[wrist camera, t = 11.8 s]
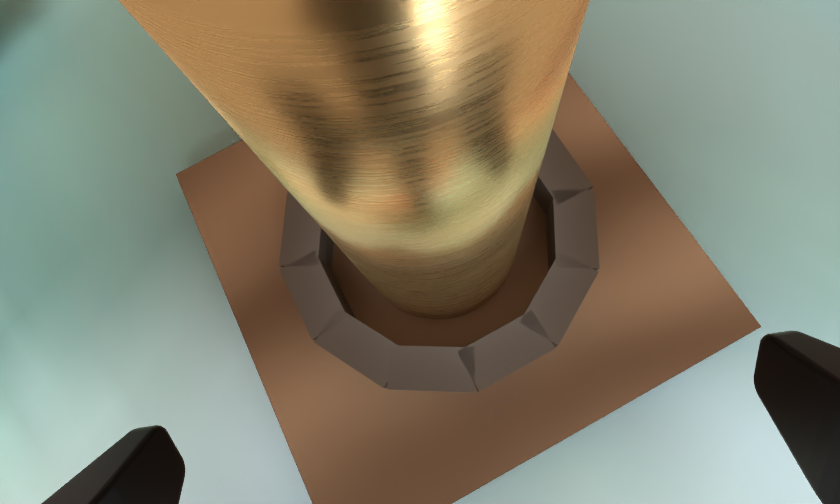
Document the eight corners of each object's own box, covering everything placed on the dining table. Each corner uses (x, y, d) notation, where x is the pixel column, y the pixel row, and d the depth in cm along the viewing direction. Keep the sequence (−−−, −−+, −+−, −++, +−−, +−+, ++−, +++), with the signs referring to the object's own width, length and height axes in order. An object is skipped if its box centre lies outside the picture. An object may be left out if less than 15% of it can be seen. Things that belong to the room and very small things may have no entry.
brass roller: (482, 343, 15) (519, 117, 3) (337, 285, 16) (-84, -69, 4) (537, 201, 16) (731, -399, 4) (398, 154, 18) (215, -443, 5)
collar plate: (746, 330, 16) (791, 319, 13) (346, 559, 15) (324, 587, 13) (510, 14, 20) (515, -35, 17) (187, 183, 19) (150, 155, 17)
